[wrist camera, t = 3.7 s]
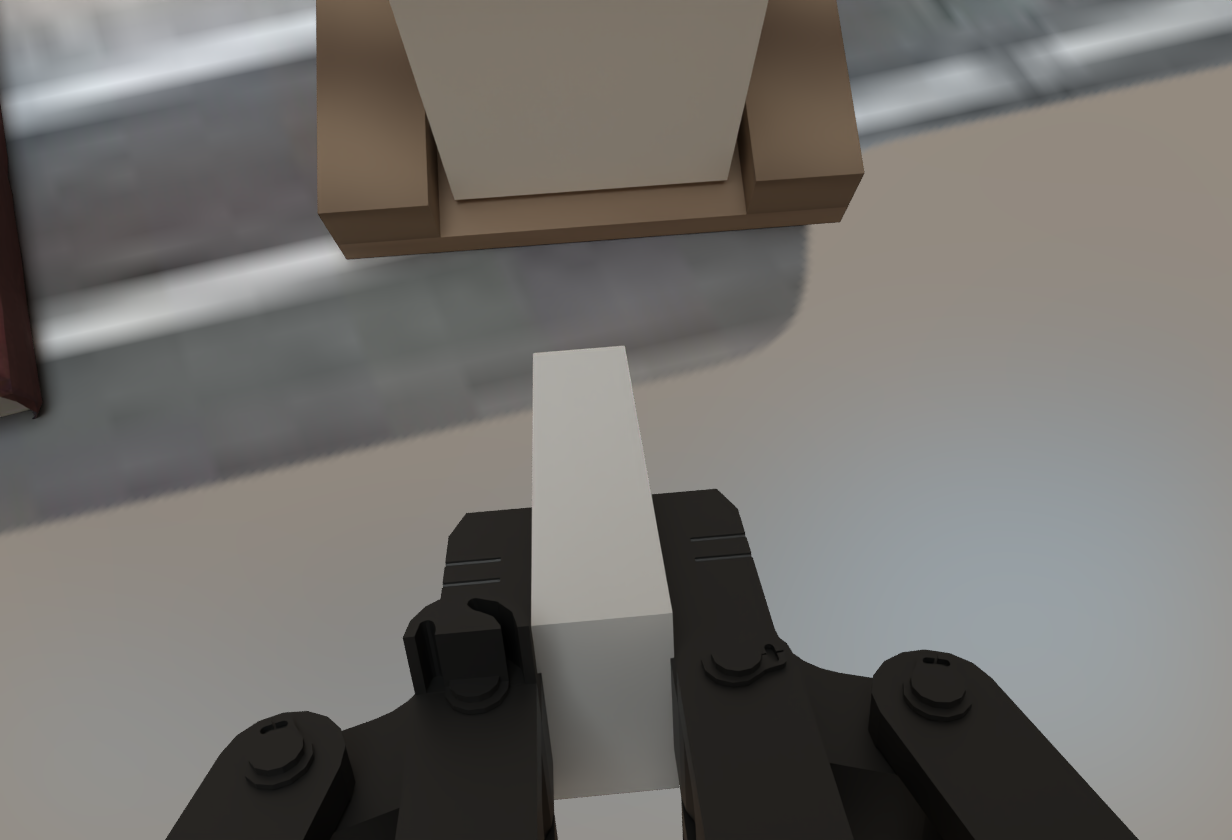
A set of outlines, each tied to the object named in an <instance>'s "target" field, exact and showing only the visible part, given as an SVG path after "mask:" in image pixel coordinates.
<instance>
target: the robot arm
mask: <svg viewBox="0 0 1232 840" xmlns="http://www.w3.org/2000/svg"><path fill="white" fill-rule="evenodd" d="M532 445H533V446H532V447H533V448H532V449H533V450H532V451H533V453H532V508H521V509H509V510H498V511H486V512H476V513H466V515H465V516H464V517H463V518H462V520H461V521H460V522H459V524H458V525H457V527H456V528H455V529H454V531H453V532H452V533H451V534H450V536H449V538H448V547H447V554H446V567H445V570H444V577H443V588H442V593H441V599H440V600H438V601H436V602H434V603H432V604H430V605H428V606H426V607H425V608H424V609H422V610H421V611H420V612H419V613H418V614H417V615H416V616H415V617H414V618H413V619H412V620H411V621H410V623H409V625H408V627H407V629H406V632H405V634H404V636H403V641H404V645H405V650H406V654H407V659H408V664H409V668H410V673H411V677H412V682H413V686H414V691H415V695H414V696H413V697H412V698H411V699H410V700H409V701H408V702H406V703H404V704H403V705H402V706H400V707H398V708H397V709H395V710H394V711H393V712H390V713H388V714H386V715H383V716H381V717H379V718H377V719H374V720H372V721H369V722H366V723H363V724H360V725H357V726H355V727H352V728H349V729H346V730H343V731H341V728H339V727H338V726H337V725H336V724H335V723H334V722H333V721H332V720H331V719H329V718H328V717H327V716H323V715H320V714H316V713H312V712H309V711H304V712H303V711H302V712H287V713H281V714H278V715H275V716H273V717H270V718H267V719H264V720H261V721H259V722H257V723H256V724H254V725H252V726H251V727H249V728H248V729H246V730H245V731H243V732H241V733H240V734H238V735H237V736H236V737H235V738H234V739H233V740H232V741H231V743H230V744H229V745H228V746H227V747H226V748H225V749H224V750H223V752H222V753H221V754H220V755H219V757H218V758H217V760H216V761H215V763H214V765H213V766H212V768H211V769H210V771H209V772H208V774H207V775H206V777H205V779H204V780H203V782H202V783H201V785H200V787H199V788H198V790H197V791H196V793H195V794H194V796H193V797H192V799H191V800H190V802H189V803H188V805H187V807H186V808H185V810H184V811H183V813H182V814H181V816H180V818H179V819H178V821H177V822H176V824H175V825H174V827H173V829H172V830H171V832H170V833H169V835H168V836H167V838H166V839H165V840H558V838H557V830H556V823H555V815H554V800H558V799H568V798H578V797H588V796H598V795H609V794H619V793H630V792H640V791H650V790H660V789H670V788H679V785H680V790H681V799H682V826H683V840H1139V839H1138V838H1137V837H1136V836H1135V835H1134V834H1133V833H1132V832H1131V831H1130V830H1129V829H1128V827H1127V826H1126V825H1125V824H1124V823H1123V822H1122V821H1121V820H1120V819H1119V818H1118V817H1117V815H1116V814H1115V813H1114V812H1113V811H1112V810H1111V809H1110V808H1109V807H1108V805H1107V804H1106V803H1105V802H1104V801H1103V800H1102V799H1101V798H1100V797H1099V796H1098V794H1097V793H1096V792H1095V791H1094V790H1093V789H1092V788H1091V787H1090V786H1089V785H1088V783H1087V782H1086V781H1085V780H1084V779H1083V778H1082V777H1081V776H1080V775H1079V774H1078V772H1077V771H1076V770H1075V769H1074V768H1073V767H1072V766H1071V765H1070V764H1069V763H1068V761H1066V759H1065V758H1064V757H1063V756H1062V755H1061V754H1060V753H1059V752H1058V750H1057V749H1056V748H1055V747H1054V746H1053V745H1052V744H1051V743H1050V742H1049V741H1048V740H1047V738H1046V737H1045V736H1044V735H1043V734H1042V733H1041V732H1040V731H1039V730H1038V729H1037V727H1036V726H1035V725H1034V724H1033V723H1032V722H1031V721H1030V720H1029V719H1028V718H1027V717H1026V715H1025V714H1024V713H1023V712H1022V711H1021V710H1020V709H1019V708H1018V707H1017V705H1016V704H1015V703H1014V702H1013V701H1012V700H1011V699H1010V698H1009V697H1008V696H1007V694H1006V693H1005V692H1004V691H1003V690H1002V689H1001V688H1000V687H999V686H998V685H997V683H996V682H995V681H994V680H993V679H992V678H991V677H990V676H988V675H987V674H986V673H985V672H983V671H982V670H981V669H980V668H978V667H977V666H976V665H974V664H973V663H972V662H969V661H967V660H964V659H962V658H959V657H957V656H955V655H952V654H950V653H944V652H938V651H930V650H918V651H910V652H902V653H900V654H898V655H896V656H894V657H892V658H890V659H888V660H886V661H884V662H883V663H882V665H881V666H880V667H879V669H878V670H877V671H876V673H875V674H874V675H873V678H869V677H863V676H856V675H850V674H843V673H838V672H833V671H830V670H825V669H821V668H819V667H816V666H814V665H812V664H810V663H807V662H805V661H803V660H802V659H800V658H799V657H797V656H796V655H795V654H793V653H792V651H791V650H790V648H789V646H788V645H787V643H786V642H784V641H783V640H782V639H780V638H779V637H778V635H777V633H776V631H775V629H774V625H773V622H772V619H771V616H770V612H769V609H768V606H767V603H766V599H765V596H764V593H763V590H762V586H761V583H760V580H759V577H758V573H757V570H756V567H755V564H754V560H753V558H752V557H751V551H750V547H749V544H748V541H747V538H746V537H745V532H744V528H743V525H742V521H741V518H740V515H739V512H738V509H737V508H736V507H735V506H734V505H733V504H732V503H731V502H730V501H729V500H728V499H727V498H726V497H725V496H724V495H723V494H721V493H720V492H719V491H718V490H717V489H709V490H697V491H686V492H676V493H663V494H652V495H651V491H650V485H649V479H648V474H647V468H646V463H645V457H644V451H643V446H642V441H641V434H640V429H639V423H638V418H637V413H636V406H635V401H634V396H633V390H632V384H631V378H630V373H629V367H628V362H627V356H626V351H625V346H614V347H602V348H590V349H578V350H566V351H554V352H542V353H533V442H532Z"/></svg>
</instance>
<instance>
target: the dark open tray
mask: <svg viewBox="0 0 1232 840" xmlns="http://www.w3.org/2000/svg"><path fill="white" fill-rule="evenodd" d="M316 43H317V193H318V215H319V216H320V218H321V220H322V221H323V223H324V224H325V226H326V228H327V229H328V231H329V232H330V234H331V235H332V237H333V239H334V240H335V242H336V243H337V245H338V247H339V248H340V250H341V251H342V253H343V254H344V256H345V258H346V259H354V258H368V257H381V256H395V255H408V254H421V253H435V252H448V251H461V250H475V249H488V248H501V247H515V246H528V245H541V244H555V243H568V242H581V241H595V240H608V239H622V238H635V237H648V236H662V235H675V234H688V233H702V232H715V231H728V230H742V229H755V228H768V227H782V226H795V225H808V224H821V223H835V222H840V221H841V219H842V217H843V215H844V213H845V211H846V209H847V207H848V205H849V203H850V201H851V199H852V197H853V195H854V193H855V191H856V189H857V187H858V185H859V183H860V181H861V179H862V177H863V175H864V168H863V161H862V155H861V149H860V143H859V137H858V131H857V125H856V118H855V112H854V106H853V100H852V94H851V88H850V82H849V75H848V69H847V63H846V57H845V51H844V45H843V39H842V33H841V26H840V20H839V14H838V8H837V2H836V0H768V5H767V9H766V13H765V18H764V22H763V26H762V31H761V35H760V39H759V44H758V48H757V52H756V57H755V61H754V65H753V70H752V74H751V78H750V83H749V87H748V92H747V96H746V100H745V105H744V109H743V113H742V118H741V122H740V126H739V131H738V135H737V139H736V144H735V148H734V152H733V157H732V161H731V165H730V170H729V174H728V178H727V180H721V181H707V182H694V183H680V184H667V185H653V186H639V187H626V188H612V189H599V190H585V191H572V192H558V193H544V194H531V195H517V196H504V197H490V198H476V199H463V200H455V199H454V196H453V193H452V190H451V187H450V184H449V181H448V178H447V175H446V172H445V169H444V166H443V163H442V160H441V157H440V154H439V151H438V148H437V145H436V142H435V139H434V136H433V133H432V130H431V127H430V123H429V120H428V117H427V114H426V111H425V108H424V105H423V102H422V99H421V96H420V93H419V90H418V87H417V84H416V81H415V78H414V75H413V72H412V69H411V66H410V63H409V60H408V57H407V54H406V50H405V47H404V44H403V41H402V38H401V35H400V32H399V29H398V26H397V23H396V20H395V17H394V14H393V11H392V8H391V5H390V2H389V0H316Z"/></svg>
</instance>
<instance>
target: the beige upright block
mask: <svg viewBox="0 0 1232 840" xmlns="http://www.w3.org/2000/svg"><path fill="white" fill-rule="evenodd" d="M389 2H390V5H391V8H392V11H393V14H394V17H395V20H396V23H397V26H398V29H399V32H400V35H401V38H402V41H403V44H404V47H405V50H406V54H407V57H408V60H409V63H410V66H411V69H412V72H413V75H414V78H415V81H416V84H417V87H418V90H419V93H420V96H421V99H422V102H423V105H424V108H425V111H426V114H427V117H428V120H429V123H430V127H431V130H432V133H433V136H434V139H435V142H436V145H437V148H438V151H439V154H440V157H441V160H442V163H443V166H444V169H445V172H446V175H447V178H448V181H449V184H450V187H451V190H452V193H453V196H454V199H455V200H463V199H476V198H490V197H504V196H517V195H531V194H544V193H558V192H572V191H585V190H599V189H612V188H626V187H639V186H653V185H667V184H680V183H694V182H707V181H721V180H727V178H728V174H729V170H730V165H731V161H732V157H733V152H734V148H735V144H736V139H737V135H738V131H739V126H740V122H741V118H742V113H743V109H744V105H745V100H746V96H747V92H748V87H749V83H750V78H751V74H752V70H753V65H754V61H755V57H756V52H757V48H758V44H759V39H760V35H761V31H762V26H763V22H764V18H765V13H766V9H767V5H768V0H389Z"/></svg>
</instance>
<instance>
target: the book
mask: <svg viewBox="0 0 1232 840" xmlns="http://www.w3.org/2000/svg"><path fill="white" fill-rule="evenodd" d="M41 405H42V397H41V391H40V385H39V379H38V372H37V366H36V359H35V353H34V346H33V340H32V333H31V326H30V320H29V315H28V308H27V299H26V292H25V285H24V275H23V266H22V258H21V252H20V246H19V240H18V234H17V228H16V222H15V215H14V205H13V195H12V191H11V187H10V183H9V180H8V157H7V149H6V141H5V134H4V127H3V120H2V113H1V105H0V417H3V416H6V415H10V414H14V413H18V412H22V411H26V410H32V411H33V413H34V416H35V417H34V418H33V419H35V418H36V417H37V415H38V412H39V410H40V407H41Z"/></svg>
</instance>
